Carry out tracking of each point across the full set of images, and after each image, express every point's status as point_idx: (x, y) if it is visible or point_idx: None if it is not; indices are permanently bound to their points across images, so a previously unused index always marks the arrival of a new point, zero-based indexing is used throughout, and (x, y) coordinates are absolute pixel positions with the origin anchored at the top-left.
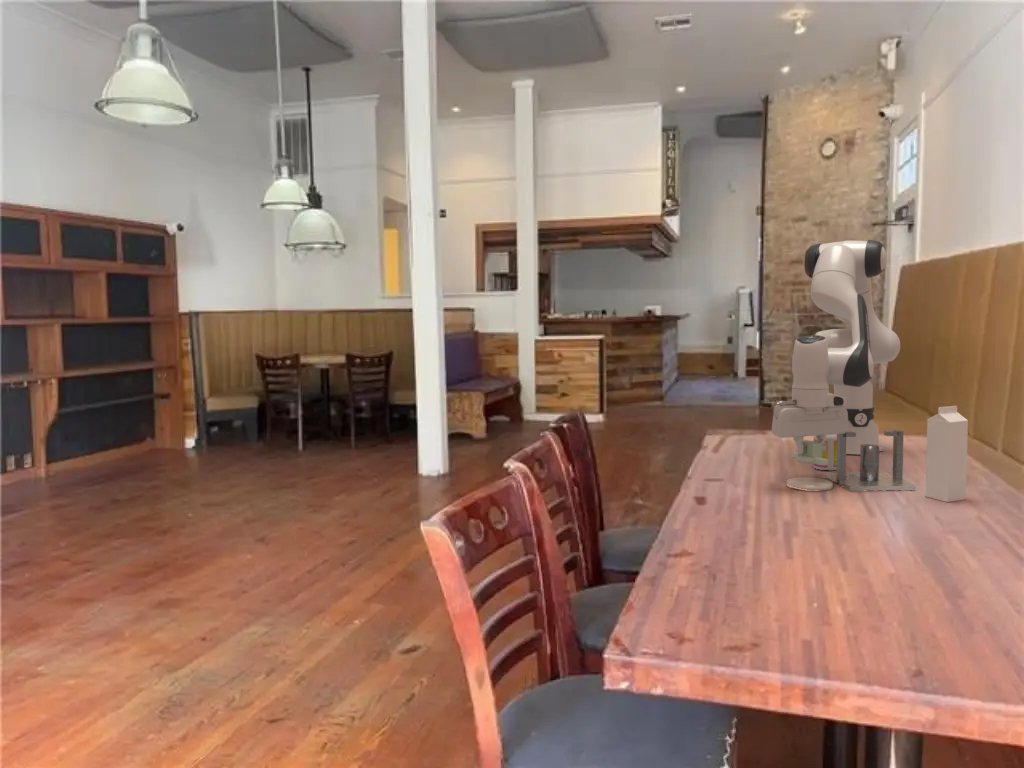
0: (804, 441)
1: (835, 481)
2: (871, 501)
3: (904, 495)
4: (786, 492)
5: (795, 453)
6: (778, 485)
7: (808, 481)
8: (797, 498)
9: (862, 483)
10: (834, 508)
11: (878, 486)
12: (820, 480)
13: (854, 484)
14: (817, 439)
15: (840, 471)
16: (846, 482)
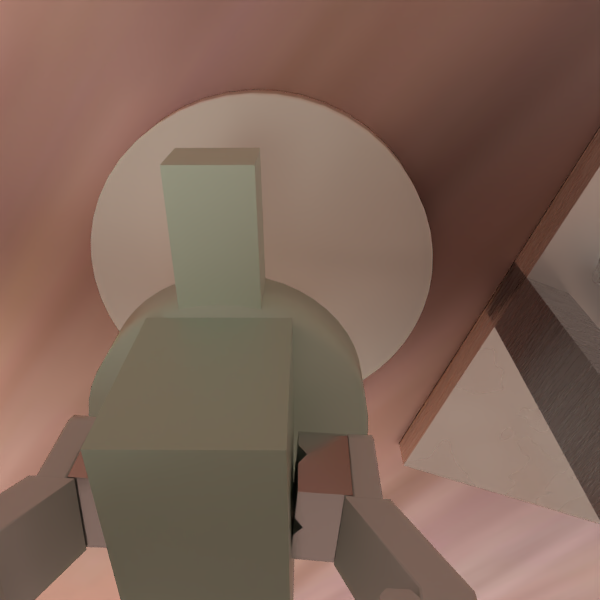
0: (160, 518)
1: (526, 253)
2: (330, 583)
3: (561, 571)
4: (20, 321)
5: (177, 223)
6: (62, 126)
7: (267, 258)
8: (19, 441)
9: (544, 437)
10: (97, 597)
11: (552, 508)
12: (375, 270)
13: (476, 438)
14: (401, 569)
15: (524, 371)
16: (483, 384)
